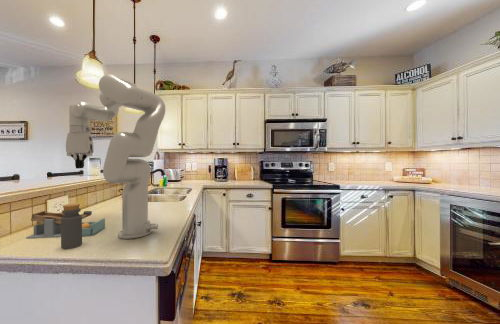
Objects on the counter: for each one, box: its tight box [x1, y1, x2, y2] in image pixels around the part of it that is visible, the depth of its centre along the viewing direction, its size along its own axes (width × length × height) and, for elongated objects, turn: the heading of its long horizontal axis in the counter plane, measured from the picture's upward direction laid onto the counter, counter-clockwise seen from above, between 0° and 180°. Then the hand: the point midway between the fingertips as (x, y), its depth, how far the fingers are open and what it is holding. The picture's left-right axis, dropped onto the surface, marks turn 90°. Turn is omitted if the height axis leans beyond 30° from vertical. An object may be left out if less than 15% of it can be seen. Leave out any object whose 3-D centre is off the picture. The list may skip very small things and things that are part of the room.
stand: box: [25, 219, 61, 239], centre depth 89 cm, size 14×9×7 cm, turn 99°
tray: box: [82, 217, 106, 237], centre depth 91 cm, size 9×10×4 cm
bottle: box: [60, 202, 83, 250], centre depth 77 cm, size 6×6×15 cm
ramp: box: [30, 210, 93, 225], centre depth 94 cm, size 15×16×4 cm
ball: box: [82, 223, 90, 229], centre depth 91 cm, size 4×4×4 cm
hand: (79, 168), depth 103 cm, fingers closed
